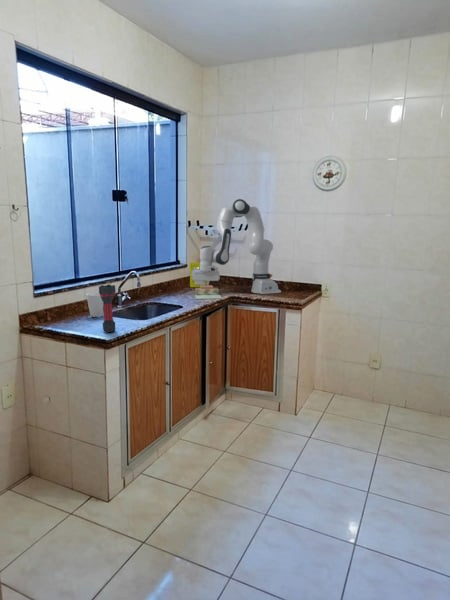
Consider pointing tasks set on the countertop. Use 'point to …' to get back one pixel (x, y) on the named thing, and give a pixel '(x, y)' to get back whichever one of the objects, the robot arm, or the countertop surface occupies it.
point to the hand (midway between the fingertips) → (206, 286)
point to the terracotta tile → (206, 287)
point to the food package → (192, 282)
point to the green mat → (208, 297)
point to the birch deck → (206, 291)
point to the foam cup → (95, 304)
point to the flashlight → (107, 306)
